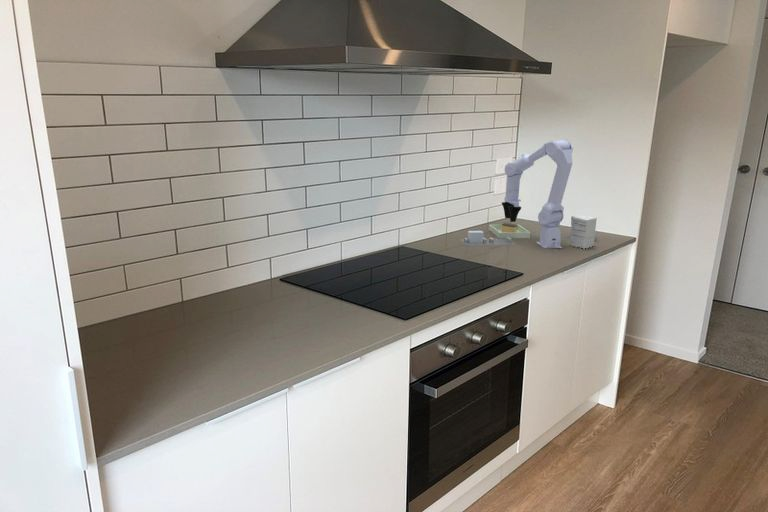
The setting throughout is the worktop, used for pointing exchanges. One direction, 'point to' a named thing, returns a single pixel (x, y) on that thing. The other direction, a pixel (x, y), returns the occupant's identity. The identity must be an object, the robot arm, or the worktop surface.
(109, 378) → the worktop surface
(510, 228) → the block
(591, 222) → the supplement box
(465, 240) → the fuse board
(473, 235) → the fuse
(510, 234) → the parts tray
